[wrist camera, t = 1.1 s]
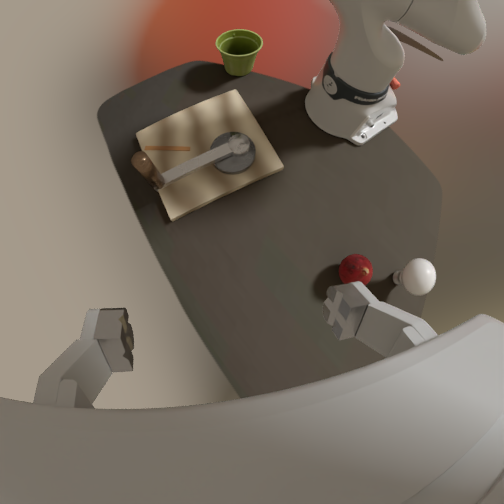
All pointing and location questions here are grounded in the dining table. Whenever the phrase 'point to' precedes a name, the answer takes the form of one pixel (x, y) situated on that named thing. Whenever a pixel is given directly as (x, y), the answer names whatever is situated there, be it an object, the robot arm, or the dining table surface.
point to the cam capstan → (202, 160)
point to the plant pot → (239, 50)
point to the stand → (198, 142)
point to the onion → (355, 269)
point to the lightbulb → (416, 276)
